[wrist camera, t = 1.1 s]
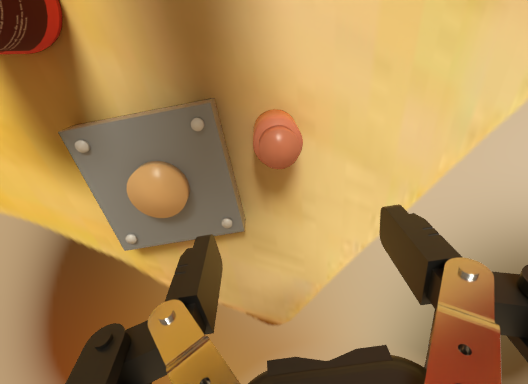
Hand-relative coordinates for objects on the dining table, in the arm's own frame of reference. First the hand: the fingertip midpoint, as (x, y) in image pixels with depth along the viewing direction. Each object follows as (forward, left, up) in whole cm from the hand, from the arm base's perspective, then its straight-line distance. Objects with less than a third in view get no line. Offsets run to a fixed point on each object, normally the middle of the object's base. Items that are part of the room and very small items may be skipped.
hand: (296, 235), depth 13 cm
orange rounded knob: (0, 0, -18) cm, 18 cm away
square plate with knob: (+3, -13, -18) cm, 22 cm away
